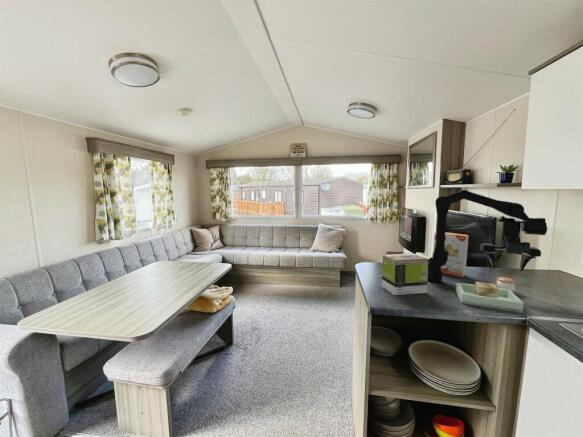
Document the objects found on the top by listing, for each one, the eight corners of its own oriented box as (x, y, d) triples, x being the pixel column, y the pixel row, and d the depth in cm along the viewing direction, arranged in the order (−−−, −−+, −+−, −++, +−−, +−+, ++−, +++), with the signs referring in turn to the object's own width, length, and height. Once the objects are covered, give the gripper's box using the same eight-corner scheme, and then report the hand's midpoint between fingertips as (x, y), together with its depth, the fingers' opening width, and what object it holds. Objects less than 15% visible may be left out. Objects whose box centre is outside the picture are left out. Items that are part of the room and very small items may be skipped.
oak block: (477, 299, 97) (478, 286, 96) (474, 293, 102) (475, 281, 102) (497, 302, 94) (498, 289, 94) (492, 296, 100) (494, 284, 99)
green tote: (461, 302, 96) (461, 294, 95) (455, 290, 108) (456, 282, 108) (522, 313, 88) (523, 303, 88) (509, 298, 101) (510, 289, 100)
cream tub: (498, 292, 107) (499, 280, 106) (494, 287, 112) (495, 276, 112) (516, 294, 104) (517, 282, 104) (511, 289, 110) (512, 278, 109)
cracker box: (431, 271, 135) (434, 232, 133) (435, 269, 139) (438, 231, 137) (462, 278, 125) (465, 235, 122) (465, 275, 129) (469, 234, 126)
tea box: (411, 285, 114) (413, 252, 113) (427, 293, 104) (429, 258, 103) (380, 286, 112) (382, 253, 110) (393, 296, 102) (395, 259, 100)
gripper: (488, 233, 103) (484, 271, 104) (550, 238, 95) (545, 278, 96) (481, 230, 113) (478, 264, 114) (536, 233, 105) (532, 270, 106)
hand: (506, 269), depth 107 cm, fingers open, 9 cm apart
